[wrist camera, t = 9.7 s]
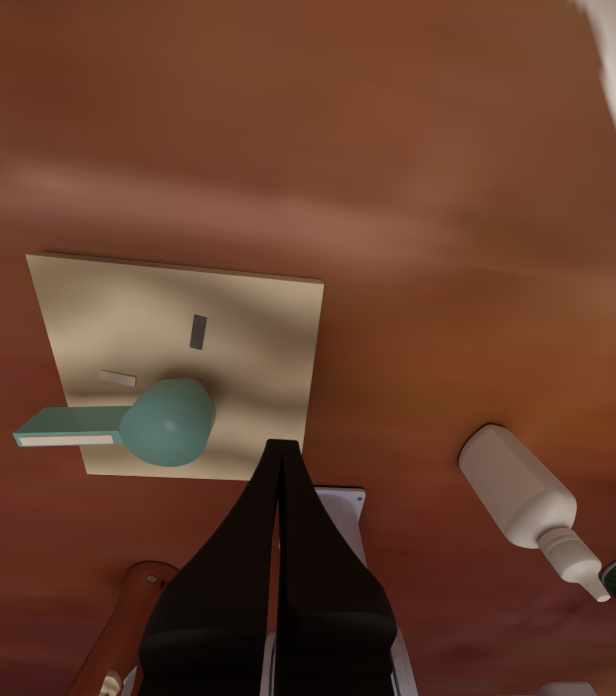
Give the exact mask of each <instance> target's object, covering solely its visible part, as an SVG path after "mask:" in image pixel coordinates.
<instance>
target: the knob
mask: <svg viewBox="0 0 616 696" xmlns="http://www.w3.org/2000/svg"><path fill="white" fill-rule="evenodd" d="M215 419H216V408H215V405H214V402H213V400H212V399H211V397H210V396H209V395H208V394H207V393H206V392H205V391H204V390H203V389H202V388H200V387H199V386H197V385H195V384H193V383H191V382H188V381H184V380H179V379H166V380H161V381H158V382H156V383H153V384H152V385H150V386H149V387H148V388H147V389H146V390H145V391H144V392H143V393H142V395H141V396H140V397H139V398H138V399H137V400H136V402H135V403H134V404H133V405H132V406H90V407H46V408H44V409H43V410H42V411H40V412H39V413H38V414H37V415H35V416H34V417H33V418H32V419H30V420H29V421H28V422H26V423H25V424H24V425H23V426H21V427H20V428H19V429H17V430H16V431H15V432H14V433H12V434H13V436H14V438H15V439H16V441H17V443H18V445H19V447H25V446H64V445H102V444H123V443H124V445H125V446H126V448H127V449H128V450H129V451H130V452H131V453H132V454H133V455H135V456H136V457H138V458H139V459H141V460H143V461H145V462H147V463H150V464H153V465H156V466H162V467H178V466H183V465H186V464H189V463H191V462H193V461H194V460H196V459H197V458H198V457H199V456H200V455H201V454H202V452H203V451H204V449H205V446H206V444H207V441H208V438H209V436H210V433H211V430H212V428H213V425H214V423H215Z"/></svg>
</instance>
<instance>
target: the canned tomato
mask: <svg viewBox="0 0 616 696" xmlns="http://www.w3.org/2000/svg"><path fill="white" fill-rule="evenodd" d="M601 581H602V583H603V584H604V585H605V586H606V587H607V588H608V589H609V590H610V592H611V593H612V594H613V595H614V597H615V598H616V561H614V562H613V563H611V564H610V565H609V566H608V567H606V568H605V570H604V571H603V572H602V575H601Z"/></svg>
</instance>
